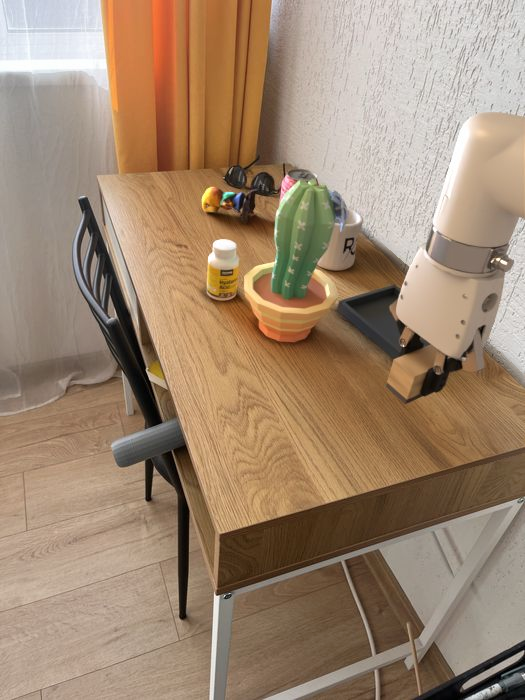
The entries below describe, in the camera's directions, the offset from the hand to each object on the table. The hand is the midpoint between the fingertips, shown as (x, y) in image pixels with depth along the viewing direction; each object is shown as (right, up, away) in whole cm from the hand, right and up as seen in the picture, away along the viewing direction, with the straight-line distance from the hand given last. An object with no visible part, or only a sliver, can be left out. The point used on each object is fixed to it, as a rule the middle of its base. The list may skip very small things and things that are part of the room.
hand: (417, 380), depth 65 cm
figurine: (-26, +34, +55) cm, 70 cm away
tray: (+5, +7, +27) cm, 28 cm away
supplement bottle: (-26, +14, +30) cm, 43 cm away
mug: (-4, +23, +45) cm, 50 cm away
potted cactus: (-15, +8, +25) cm, 30 cm away
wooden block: (0, -1, +1) cm, 1 cm away
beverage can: (-12, +31, +54) cm, 63 cm away
